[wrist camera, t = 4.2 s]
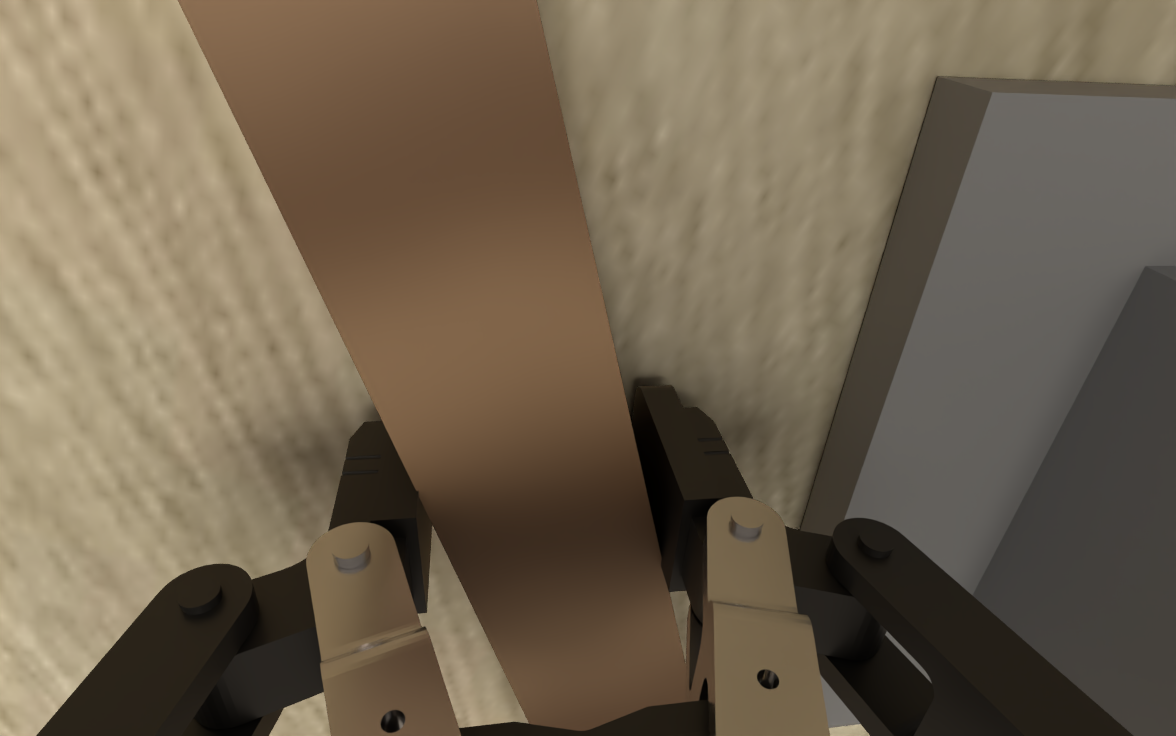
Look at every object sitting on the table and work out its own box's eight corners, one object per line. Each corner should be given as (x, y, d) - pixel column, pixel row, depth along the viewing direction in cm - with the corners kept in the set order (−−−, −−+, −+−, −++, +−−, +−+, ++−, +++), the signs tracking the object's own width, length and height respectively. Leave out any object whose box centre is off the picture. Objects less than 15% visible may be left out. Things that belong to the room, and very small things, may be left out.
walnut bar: (86, -448, 8) (-165, -702, 5) (396, -525, 8) (350, -827, 5) (579, 737, 22) (598, 865, 19) (687, 708, 22) (723, 830, 19)
